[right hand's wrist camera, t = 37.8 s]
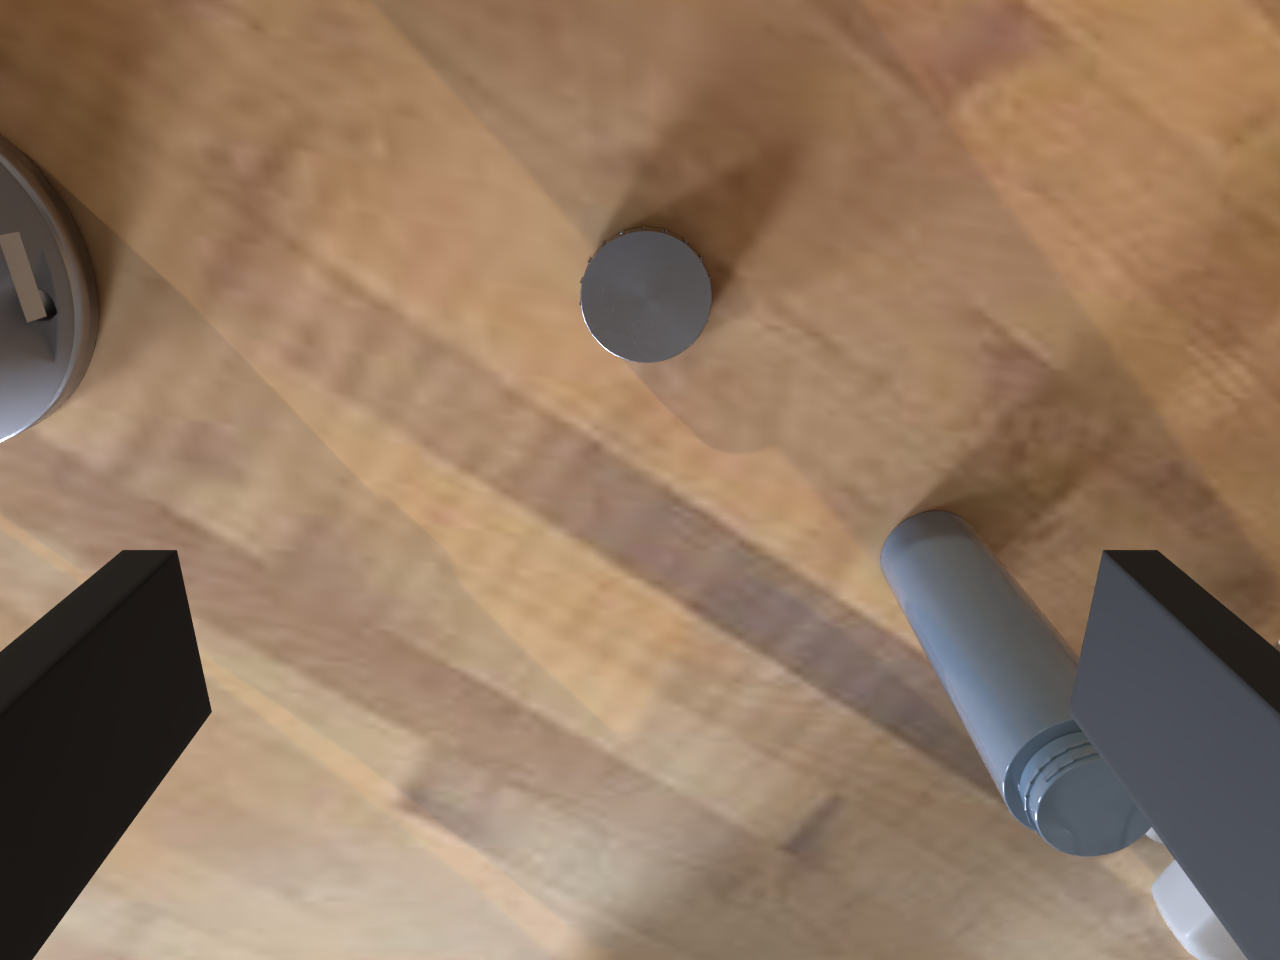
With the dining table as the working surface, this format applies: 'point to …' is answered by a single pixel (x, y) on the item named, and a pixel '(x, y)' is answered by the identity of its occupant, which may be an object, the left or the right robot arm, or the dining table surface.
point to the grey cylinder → (1008, 684)
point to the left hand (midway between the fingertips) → (1212, 736)
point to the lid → (646, 294)
